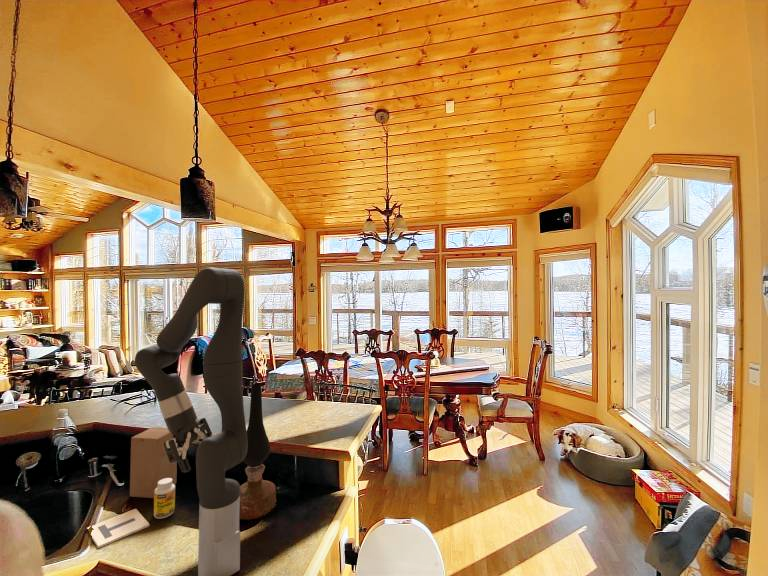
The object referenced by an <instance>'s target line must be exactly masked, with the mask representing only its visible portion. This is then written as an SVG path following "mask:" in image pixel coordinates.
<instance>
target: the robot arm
mask: <svg viewBox="0 0 768 576" xmlns="http://www.w3.org/2000/svg"><path fill="white" fill-rule="evenodd" d="M244 302H245V281H244V278H243V276H242V274H241V273H240V272H239V270H237V269H233V268H222V267H205V268H202V269H200V271H198V272H197V273H196V275H194V277H193V279H192V280H191V283H190V284H189V286H188V288H187V290H186V292H185V294H184V295H183V298H182V299H181V301H180V303H179V306H178V308H177V309H176V312H175V313H174V314H173V316H172V317H171V319H170V320H169V321H168V323H166V325H165V326H164V327H163V328H162V330H161V331H160V332H159V333H158V335H157V337H156V344H154V345H151V346H147V347H145V348H144V347H143V348H141V349H140V350H138V351H137V352H136V354H135V357H134V364H135V367H136V370H137V371H138V372H139V373H140V374H141V376H142V377H143V378H144V379H145V380H146V381H147V383H148V384H149V385H150V387H151V388H152V389H153V392H154V394H155V397H156V399H157V401H158V405H159V409H160V413H161V416H162V419H163V420H164V423H165V425H166V428H168V431H169V432H171V433H172V435H173V438H172V439H171V440H168V441H165V442H164V447H165V450H166V453H167V456H168V459H169V462H170V463H172V462H177V464H178V466H179V468H180V471H181V472H182V473H184V474H185V473H188V472H190V471H191V470H192V467H191V466H190V462H189V459H188V458H187V451H188V450H189V447H190V445H192V444H193V443H194V442H196V441H197V442H199V444H198V446H197V448H196V454H195V468H196V469H195V472H196V475H195V476H196V490H197V494H198V498H199V503H198V504H199V506H198V507H199V509H198V546H197V547H198V549H197V550H198V551H197V552H198V553H197V554H198V555H197V556H198V557H197V559H198V561H197V563H198V564H197V567H198V568H197V570H198V571H197V573H198V574H197V576H232V575H234V574H236V573H237V572H239V571H240V569H241V530H240V519H239V514H240V486H241V485H240V483H239V481H237V480H236V479H234V478H226V472H227V471H229V470H231V469H232V468H234V467H236V466H237V465H239V464H241V463H243V462H244V461H243V460H244V459H245V457H246V454H247V449H248V440H247V425H246V417H245V407H244V391H243V389H244V387H243V383H244V382H243V377H244V376H243V375H244V372H243V369H244V367H243V365H244V364H243V361H244V360H243V347H242V346H243V338H242V337H243V333H242V332H243V315H244V314H243V313H244ZM209 304H211V305H215V304H216V305H220V306H219V320H218V324H217V328H216V329H215V332H214V333H213V335H212V337H211V339H210V340H209V342H208V345H207V346H206V349H205V350H204V354H203V358H202V359H203V361H202V363H203V367H202V368H203V372H202V373H203V377H202V378H203V383H204V386H205V389H206V391H207V392H208V394H209V395H210V396H211V398H212V399H213V400H214V402H215V404H217V407H218V409H219V411H220V417H221V431H220V432H218V433H216V434H214V435H213V432H212V430H211V428H210V425H209V423H208V421H207V419H206V417H202V418H199V419H198V415H197V414H196V411H195V408H194V405H193V404H192V401H191V398H190V396H189V394H188V393H187V390H186V388H185V385H184V382H183V381H182V378H181V376H180V375H179V373H176V372H175V373H170V374H166V373H165V372H164V370H162V369H165V368H167V367H169V366H171V365H172V364H174V363H175V362H177V360H178V359H179V357H180V356H181V353H182V351H183V348H184V347H185V345H186V344H187V343H188V342H189V341H190V340H191V339H192V337H193V336H194V335H195V333H196V331H197V328H198V314H199V312H200V311H202V310H203V309H204V308H205V307H206V306H207V305H209ZM173 455H174V457H173Z"/></svg>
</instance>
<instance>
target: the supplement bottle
mask: <svg viewBox="0 0 768 576" xmlns="http://www.w3.org/2000/svg"><path fill="white" fill-rule="evenodd" d="M172 483H173V482H172V478H165V479H162V480H160V481H158V486H157V488H156V489H155V491H154V498H153V517H154V518H155V519H158V520H160V519H165V518H168V517H169V516H172V514H174V512H175V506H176V504H175V503H176V484H175V485H174V484H172Z"/></svg>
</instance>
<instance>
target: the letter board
mask: <svg viewBox="0 0 768 576" xmlns="http://www.w3.org/2000/svg"><path fill="white" fill-rule="evenodd" d="M91 526H92V528H93V529H94V530H92V532H91V536H92V537H91V536H90V537H91V539H92V541H93V542H94V544H95V546H96V547H97V549H100V548H104V547H105V546H108V545H109V544H112V543H114V542H116V541H118V540H119V541H120V540H121V539H123V538H126V537H127V536H131V535H133V534H134V533H137V532H139V531H141V530H143V529H146V528H148V527H150V523H149V521H148V520H147V519H146V518H145V517H144V516H143V514H141V513H140V512H139V510H138V509H137V508H134V509H131V510H129V511H126V512H124V513H121V514H119V515H116V516H113V517H111V518H108V519H106V520H103V521H101V522H98V523H96V524H93V525H91ZM91 526H88V527H87V528H86V530H87V529H89V528H90V527H91Z"/></svg>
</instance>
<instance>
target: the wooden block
mask: <svg viewBox="0 0 768 576" xmlns="http://www.w3.org/2000/svg"><path fill="white" fill-rule="evenodd" d="M172 438H173V435H172V433H171V432H169V431H168V428H167V427H161V426H160V427H159V426H153V427H150V428H149V429H146V430H144V431H142V432H140V433H138V434H135V435H134V436H131V439H130V467H129V469H130V471H129V475H130V476H129V496H130V497H132V498H145V499H146V498H147V499H154V491H155V489H156V488H157V486H158V481H160V480H162V479H165V478H172V482H173V483H172V484H174V485H175V486H176V484H177V476H178V475H177V474H178V472H177V470H178V468H177V467H178V465H177V464H178V462H172V463H170V462H169V459H168V456H167V453H166V450H165V447H164V442H165V441H168V440H171V439H172ZM173 457H174V455H173Z"/></svg>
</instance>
